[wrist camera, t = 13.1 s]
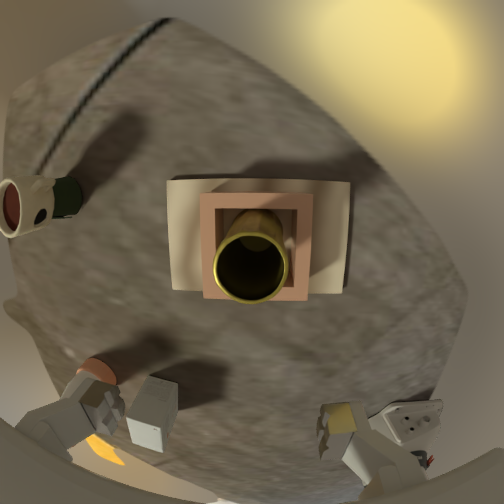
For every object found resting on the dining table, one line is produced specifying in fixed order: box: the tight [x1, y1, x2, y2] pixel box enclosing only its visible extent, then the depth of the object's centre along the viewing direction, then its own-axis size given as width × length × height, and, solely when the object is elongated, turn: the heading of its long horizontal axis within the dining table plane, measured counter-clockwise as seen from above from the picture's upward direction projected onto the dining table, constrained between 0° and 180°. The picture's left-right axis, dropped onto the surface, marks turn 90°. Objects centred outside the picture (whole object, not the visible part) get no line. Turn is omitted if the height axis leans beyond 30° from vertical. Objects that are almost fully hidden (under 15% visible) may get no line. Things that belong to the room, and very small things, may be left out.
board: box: [167, 178, 350, 293], centre depth 33 cm, size 22×14×1 cm, turn 90°
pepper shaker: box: [59, 358, 116, 447], centre depth 32 cm, size 7×7×19 cm
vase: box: [213, 208, 288, 304], centre depth 25 cm, size 6×6×14 cm
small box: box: [126, 375, 178, 453], centre depth 36 cm, size 8×6×10 cm
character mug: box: [0, 175, 82, 238], centre depth 27 cm, size 11×7×13 cm, turn 115°
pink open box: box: [200, 191, 313, 301], centre depth 30 cm, size 11×11×6 cm
